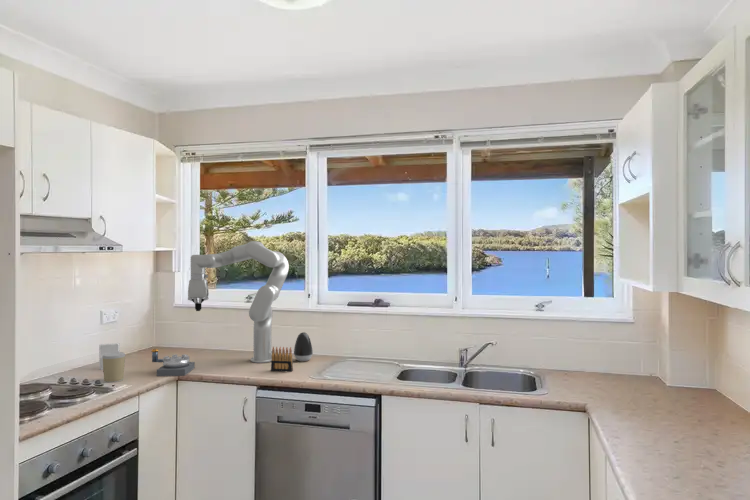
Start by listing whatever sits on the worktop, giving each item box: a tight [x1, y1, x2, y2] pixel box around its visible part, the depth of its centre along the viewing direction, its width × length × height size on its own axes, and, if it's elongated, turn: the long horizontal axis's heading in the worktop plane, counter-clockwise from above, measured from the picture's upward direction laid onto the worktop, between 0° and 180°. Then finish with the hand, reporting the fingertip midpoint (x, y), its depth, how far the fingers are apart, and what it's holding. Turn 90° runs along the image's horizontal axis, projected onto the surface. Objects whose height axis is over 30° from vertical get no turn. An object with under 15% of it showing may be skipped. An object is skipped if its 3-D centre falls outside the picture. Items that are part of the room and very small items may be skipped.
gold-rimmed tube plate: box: [151, 348, 190, 368], centre depth 241 cm, size 18×12×8 cm, turn 90°
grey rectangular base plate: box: [156, 361, 196, 377], centre depth 241 cm, size 13×16×3 cm
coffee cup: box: [102, 351, 126, 383], centre depth 225 cm, size 9×9×12 cm
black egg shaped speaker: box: [293, 331, 314, 362], centre depth 267 cm, size 10×10×15 cm
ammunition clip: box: [270, 346, 294, 373], centre depth 243 cm, size 11×2×12 cm, turn 82°
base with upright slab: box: [98, 342, 120, 371], centre depth 249 cm, size 9×9×12 cm
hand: (198, 310), depth 268 cm, fingers closed
